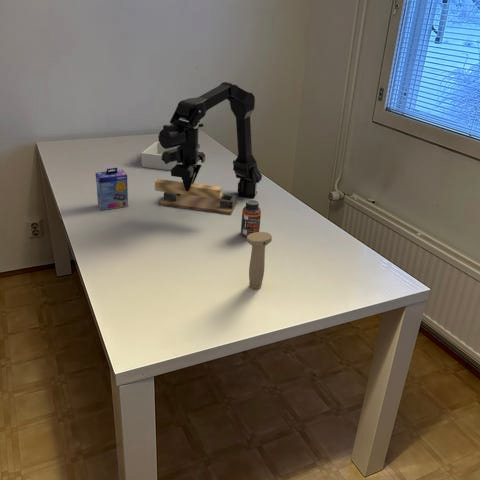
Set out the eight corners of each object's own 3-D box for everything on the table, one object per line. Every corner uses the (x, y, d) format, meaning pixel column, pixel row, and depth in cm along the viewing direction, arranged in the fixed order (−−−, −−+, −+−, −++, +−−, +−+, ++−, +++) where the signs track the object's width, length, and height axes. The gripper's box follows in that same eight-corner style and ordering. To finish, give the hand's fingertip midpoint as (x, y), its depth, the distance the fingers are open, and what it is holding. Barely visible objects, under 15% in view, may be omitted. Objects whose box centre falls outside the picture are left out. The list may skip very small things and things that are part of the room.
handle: (240, 284, 131) (243, 234, 124) (260, 279, 134) (264, 230, 127) (249, 294, 128) (253, 243, 121) (270, 288, 131) (275, 238, 124)
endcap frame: (238, 201, 181) (238, 192, 180) (231, 214, 171) (231, 205, 169) (170, 192, 185) (170, 184, 184) (160, 205, 175) (159, 195, 173)
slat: (222, 195, 161) (222, 187, 160) (219, 199, 159) (220, 190, 157) (158, 187, 164) (157, 178, 163) (155, 190, 162) (154, 182, 160)
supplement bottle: (246, 239, 155) (248, 206, 149) (237, 232, 159) (239, 199, 154) (262, 236, 157) (265, 204, 152) (253, 229, 162) (255, 197, 157)
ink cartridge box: (101, 211, 168) (98, 171, 161) (97, 205, 172) (93, 165, 165) (129, 206, 172) (127, 167, 165) (124, 201, 176) (122, 162, 170)
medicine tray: (194, 158, 223) (194, 146, 220) (182, 171, 207) (182, 157, 204) (156, 154, 225) (156, 141, 222) (141, 166, 209) (141, 153, 207)
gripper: (173, 132, 163) (174, 176, 170) (154, 147, 147) (155, 196, 154) (206, 135, 161) (205, 180, 169) (190, 152, 145) (189, 200, 152)
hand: (188, 189), depth 161 cm, fingers closed on slat, 3 cm apart
